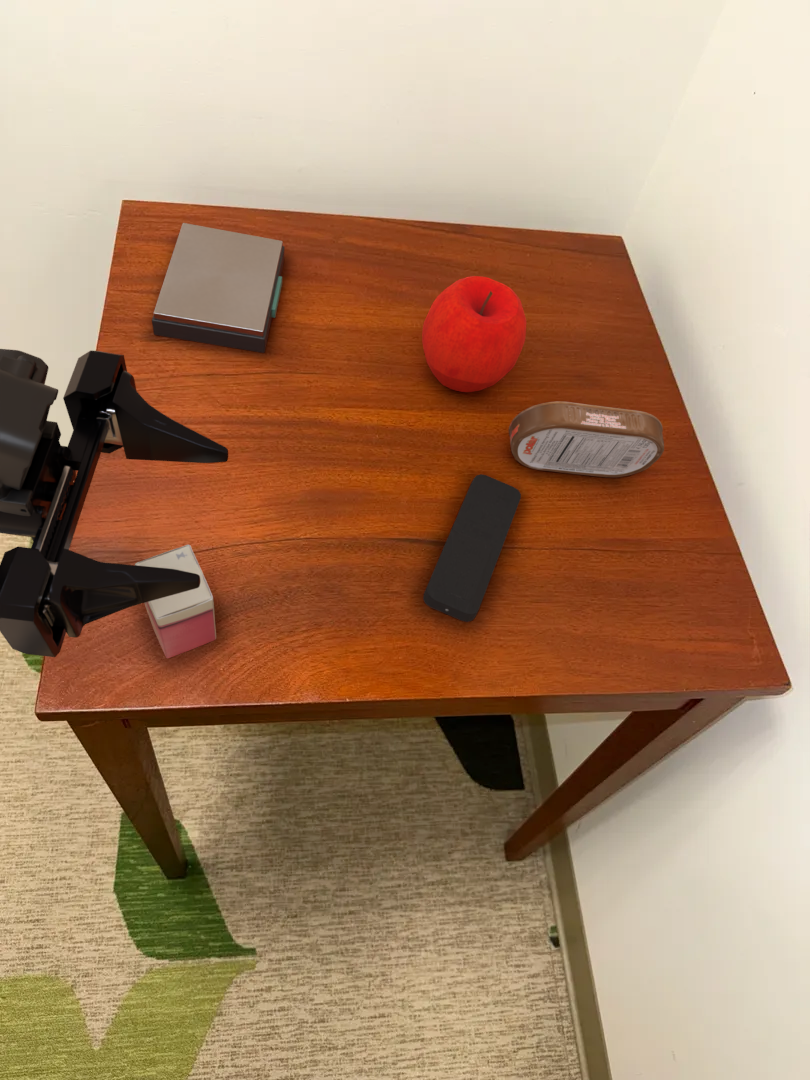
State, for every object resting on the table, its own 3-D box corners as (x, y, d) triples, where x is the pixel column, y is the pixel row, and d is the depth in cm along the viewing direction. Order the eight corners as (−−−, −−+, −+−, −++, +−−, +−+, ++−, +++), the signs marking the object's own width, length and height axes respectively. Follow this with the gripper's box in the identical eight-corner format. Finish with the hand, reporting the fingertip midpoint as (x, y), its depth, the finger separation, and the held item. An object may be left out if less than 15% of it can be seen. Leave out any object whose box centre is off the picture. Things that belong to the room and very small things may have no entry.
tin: (639, 461, 79) (677, 409, 72) (643, 487, 77) (684, 436, 70) (497, 446, 77) (523, 391, 69) (499, 472, 75) (526, 418, 68)
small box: (144, 607, 62) (131, 561, 55) (196, 588, 64) (189, 541, 57) (166, 661, 60) (155, 620, 53) (218, 640, 62) (214, 598, 55)
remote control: (472, 480, 75) (419, 603, 66) (477, 469, 73) (423, 593, 65) (518, 500, 74) (472, 625, 66) (524, 489, 73) (477, 616, 65)
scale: (153, 335, 76) (150, 314, 74) (183, 242, 83) (181, 220, 81) (268, 354, 78) (269, 334, 75) (287, 261, 85) (288, 240, 82)
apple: (421, 419, 77) (447, 331, 66) (402, 346, 81) (424, 252, 71) (513, 415, 79) (553, 329, 69) (490, 344, 84) (524, 253, 73)
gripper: (-193, 547, 34) (169, 593, 35) (-41, 261, 43) (238, 310, 45) (-95, 643, 43) (186, 676, 45) (12, 392, 53) (241, 427, 54)
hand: (214, 515), depth 47 cm, fingers open, 9 cm apart
